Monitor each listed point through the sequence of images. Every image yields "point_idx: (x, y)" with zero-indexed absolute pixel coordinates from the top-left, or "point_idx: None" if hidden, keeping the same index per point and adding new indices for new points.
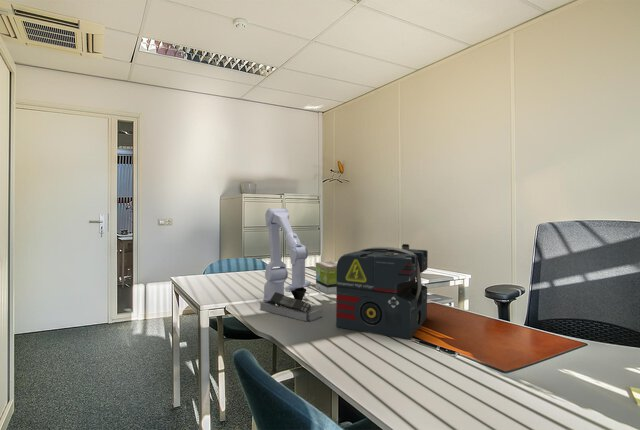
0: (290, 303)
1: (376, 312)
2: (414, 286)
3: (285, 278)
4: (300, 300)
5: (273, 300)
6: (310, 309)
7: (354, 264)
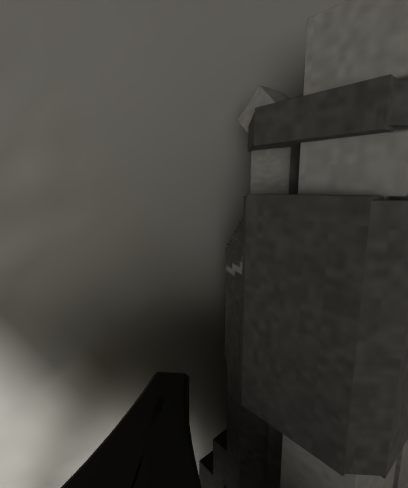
0: (402, 474)
1: None
2: None
3: None
4: (369, 372)
5: None
6: (267, 90)
7: None
